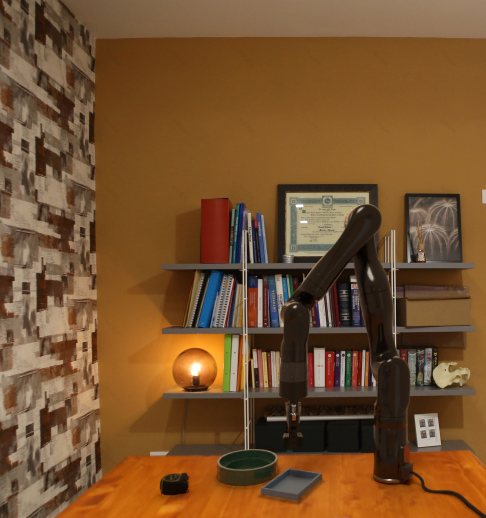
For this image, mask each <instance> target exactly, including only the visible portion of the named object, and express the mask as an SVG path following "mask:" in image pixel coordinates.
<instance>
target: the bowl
mask: <svg viewBox="0 0 486 518" xmlns="http://www.w3.org/2000/svg"><path fill="white" fill-rule="evenodd" d="M278 473H279V457H278V455H277V453H274V452H273V451H271V450H267V449H258V448H257V449H256V448H255V449H254V448H253V449H251V448H249V449H241V450H235V451H231V452H228V453H225V454H223V455H222V456H219V458H218V459H217V461H216V480H218V481H219V483H222V484H225V485H227V486H228V485H229V486H237V487H244V486H245V487H246V486H254V485H259V484H263V483H266V482H268V481H269V482H270V481H271V480H273V479H274V478H276V477H277V476H278Z"/></svg>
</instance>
